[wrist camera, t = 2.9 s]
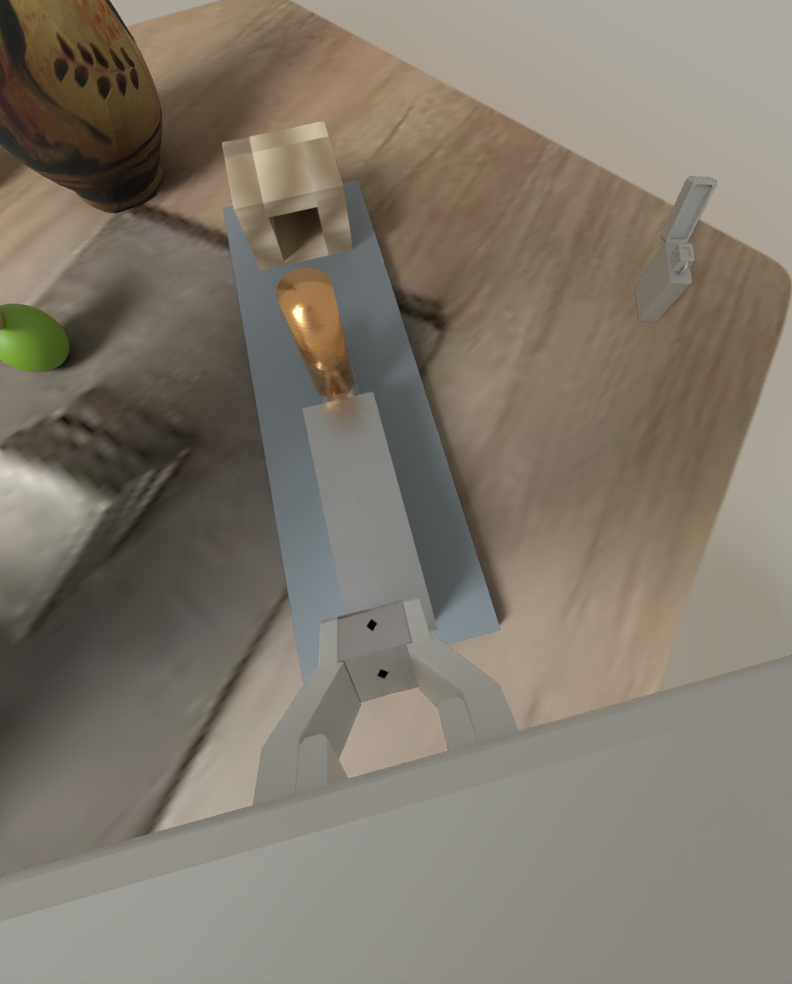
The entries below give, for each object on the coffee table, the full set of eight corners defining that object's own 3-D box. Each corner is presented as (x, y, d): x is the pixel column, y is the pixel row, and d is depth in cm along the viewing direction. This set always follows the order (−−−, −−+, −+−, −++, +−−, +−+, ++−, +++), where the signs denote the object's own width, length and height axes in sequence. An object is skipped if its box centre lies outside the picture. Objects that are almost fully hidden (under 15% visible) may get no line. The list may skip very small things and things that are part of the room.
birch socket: (260, 270, 36) (233, 209, 30) (248, 209, 38) (221, 142, 32) (353, 249, 36) (343, 185, 31) (336, 190, 38) (323, 121, 33)
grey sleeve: (362, 643, 26) (353, 652, 21) (318, 438, 31) (302, 408, 26) (432, 624, 26) (437, 629, 22) (378, 424, 31) (373, 391, 26)
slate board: (307, 680, 27) (303, 683, 26) (228, 219, 39) (223, 208, 38) (496, 628, 27) (500, 629, 26) (359, 191, 40) (357, 178, 39)
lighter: (658, 321, 34) (730, 241, 27) (638, 320, 34) (705, 240, 27) (651, 260, 36) (716, 168, 29) (632, 259, 36) (693, 167, 29)
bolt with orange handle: (370, 626, 26) (344, 643, 15) (307, 343, 32) (257, 213, 21) (416, 613, 26) (423, 622, 15) (344, 335, 32) (312, 201, 22)
